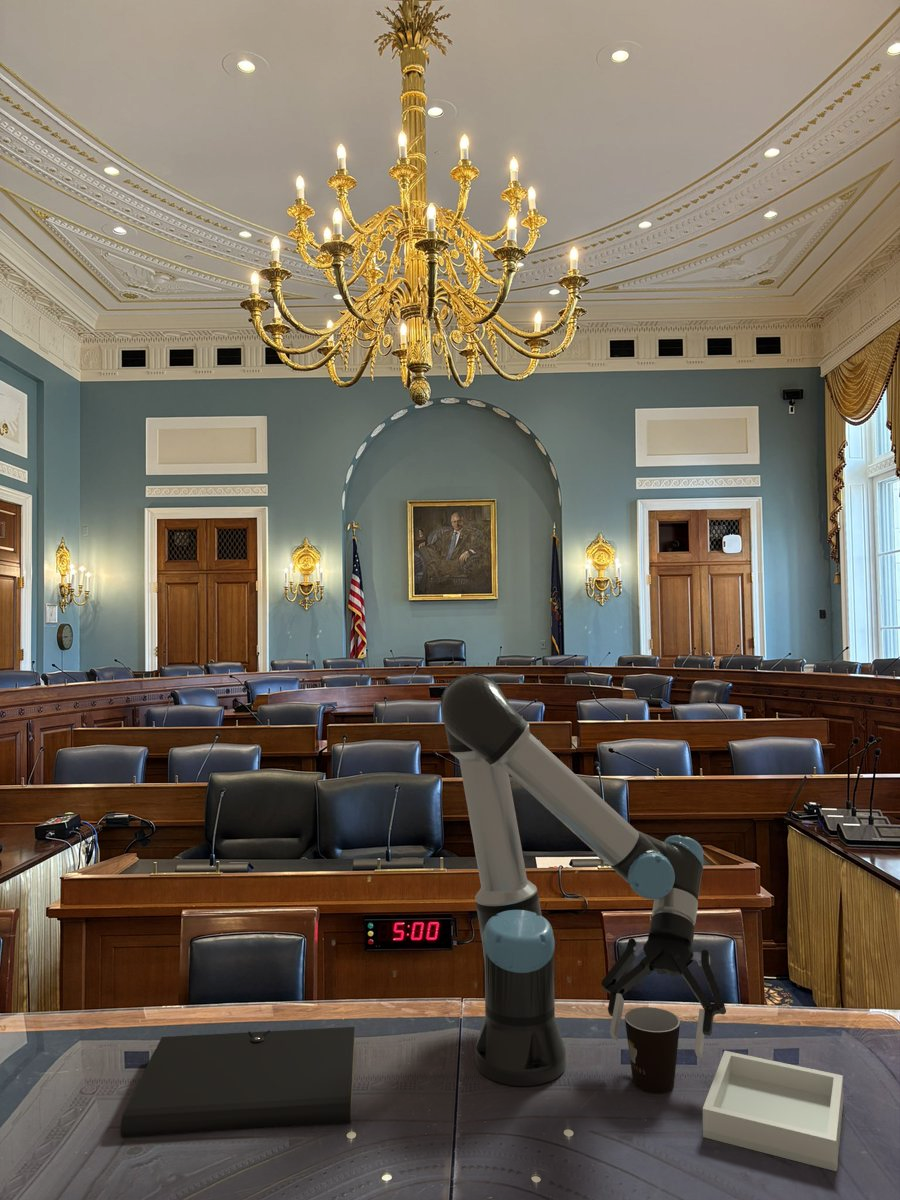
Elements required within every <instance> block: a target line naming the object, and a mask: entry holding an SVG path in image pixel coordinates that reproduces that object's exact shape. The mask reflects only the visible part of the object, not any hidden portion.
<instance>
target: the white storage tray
mask: <svg viewBox="0 0 900 1200" xmlns="http://www.w3.org/2000/svg"><path fill="white" fill-rule="evenodd" d="M843 1110H844V1076H843V1075H842V1074H838V1073H833V1072H829V1071H823V1070H820V1069H813V1068H809V1067H804V1066H800V1065H795V1064H789V1063H786V1062H780V1061H776V1060H770V1059H766V1058H763V1057H757V1056H752V1055H748V1054H742V1053H737V1052H733V1051H729V1050H724V1051H723V1053H722V1057H721V1059H720V1062H719V1065H718V1067H717V1070H716V1072H715V1075H714V1078H713V1080H712V1083H711V1086H710V1087H709V1091H708V1093H707V1096H706V1099H705V1101H704V1104H703V1106H702V1137H703V1138H706V1139H709V1140H713V1141H717V1142H720V1143H725V1144H728V1145H732V1146H736V1147H740V1148H744V1149H748V1150H752V1151H756V1152H760V1153H764V1154H766V1155H767V1154H768V1155H772V1156H775V1157H780V1158H783V1159H787V1160H792V1161H795V1162H799V1163H803V1164H806V1165H810V1166H814V1167H818V1168H822V1169H826V1170H830V1171H833V1172H837V1171H838V1162H839V1151H840V1140H841V1132H842V1131H841V1130H842V1121H843Z"/></svg>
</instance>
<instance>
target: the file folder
mask: <svg viewBox="0 0 900 1200" xmlns="http://www.w3.org/2000/svg"><path fill="white" fill-rule="evenodd" d="M355 1028H356V1027H355V1026H341V1027H325V1028H308V1029H307V1028H306V1029H290V1030H289V1029H288V1030H287V1029H286V1030H270V1029H269V1030H267V1031H248V1032H233V1033H232V1032H231V1033H213V1034H191V1035H173V1036H161V1037H160V1040H159V1041H158V1044H157V1046H156V1048H155V1049H154V1051H153V1053H152V1055H151V1056H150V1059H149V1060H148V1062H147V1065H146V1067H145V1069H144V1071H143V1073H142V1074H141V1077H140V1079H139V1081H138V1082H137V1085H136V1087H135V1089H134V1090H133V1093H132V1095H131V1097H130V1099H129V1101H128V1103H127V1104H126V1107H125V1109H124V1112H123V1113H122V1117H121V1121H120V1137H121V1138H126V1137H127V1138H129V1137H141V1136H143V1137H144V1136H158V1135H171V1134H172V1135H174V1134H175V1135H176V1134H190V1133H205V1132H206V1133H208V1132H222V1131H236V1130H237V1131H239V1130H240V1131H241V1130H254V1129H255V1130H257V1129H272V1128H273V1129H274V1128H287V1127H303V1126H316V1125H317V1126H318V1125H319V1126H320V1125H322V1126H323V1125H335V1124H351V1123H352V1121H351V1119H352V1105H353V1103H352V1102H353V1084H354V1083H353V1081H354V1065H355V1064H354V1063H355V1062H354V1061H355V1045H356V1044H355V1031H356V1029H355Z"/></svg>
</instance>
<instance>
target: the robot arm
mask: <svg viewBox="0 0 900 1200" xmlns="http://www.w3.org/2000/svg"><path fill="white" fill-rule="evenodd" d="M440 708H441V711H440V712H441V718H442V721H443V724H444V728H445V734H446V739H447V745H448V750H449V753H450V754H451V755H452V756H454V757H455V758H456V759H457V760H458V761H459V767H460V771H461V772H460V773H461V777H462V783H463V788H464V789H463V790H464V795H465V800H466V807H467V813H468V819H469V825H470V830H471V835H472V836H471V837H472V840H473V841H472V842H473V847H474V852H475V853H474V854H475V859H476V864H477V870H478V876H479V882H480V889H479V890H478V892H476V895H475V896H474V900H475V906H476V912H477V918H478V925H479V932H480V938H481V941H482V942H481V944H482V952H483V953H482V954H483V960H484V961H483V962H484V1004H485V1005H484V1006H485V1007H484V1008H485V1011H484V1013H485V1014H484V1019H483V1021H482V1025H481V1027H480V1030H479V1035H478V1038H477V1041H476V1044H475V1053H474V1054H475V1057H474V1058H475V1066H476V1068H477V1070H478V1071H479V1073H481V1074H482V1075H483V1076H484V1077H486V1078H487V1079H489V1080H491V1081H494V1082H497V1083H500V1084H504V1085H507V1086H514V1087H515V1086H516V1087H529V1086H530V1087H531V1086H538V1085H543V1084H547V1083H549V1082H552V1081H554V1080H556V1079H557V1078H559V1077H560V1076H561V1075H563V1073H564V1072H565V1070H566V1067H567V1052H566V1045H565V1043H564V1040H563V1036H562V1033H561V1032H560V1028H559V1025H558V1022H557V1019H556V1015H555V960H554V959H555V958H554V957H555V954H554V953H555V947H556V946H555V945H556V941H555V937H554V931H553V927H552V925H551V923H550V922H549V920H548V919H547V918H545V917H544V916H542V915H543V913H542V909H541V904H540V903H541V902H540V898H539V893H538V888H537V886H536V885H535V884H533V882H531V881H530V880H529V879H528V877H527V871H526V865H525V858H524V854H523V849H522V843H521V837H520V832H519V831H520V830H519V827H518V820H517V813H516V809H515V804H514V803H515V802H514V797H513V792H512V786H511V781H510V776H511V778H513V779H514V780H515V781H516V782H517V783H519V784H520V785H521V786H522V787H523V788H524V789H525V790H526V791H528V792H529V794H530V795H532V796H533V797H534V798H535V799H536V801H538V802H539V803H540V804H541V805H543V807H544V808H545V809H547V810H548V811H549V812H550V813H551V814H552V815H554V816H555V817H556V819H558V820H559V821H560V822H561V823H562V824H563V825H565V827H567V828H568V829H569V830H570V831H571V832H572V833H573V834H574V835H576V836H577V838H579V839H580V840H581V841H582V842H583V843H584V844H585V845H587V846H588V847H589V848H590V849H591V851H593V852H594V853H596V856H597V857H598V858H599V859H600V860H602V861H603V862H605V863H607V865H608V866H610V867H611V869H612V870H613V871H615V873H617V874H618V875H619V877H620V878H623V880H624V881H625V882H626V883H628V885H629V887H630V888H631V890H632V891H634V892H635V893H636V894H637V895H638V896H639V897H641V898H643V899H645V900H652V901H653V905H652V906H653V907H652V912H651V914H652V916H651V918H650V923H649V928H648V935H647V936H648V937H647V940H646V942H645V943H642V942H637V941H636V940H635V938H634V937H631V938H629V939H628V941H627V945H626V948H625V950H624V951H623V953H622V954H621V955H620V957H619V958H618V959H617V960H616V962H615V963H614V965H613V966H612V967H611V969H610V970H609V972H608V973H607V974H606V975H605V977H604V978H603V979H602V981H601V983H600V984H601V986H602V988H603V991H604V992H605V993H607V994H609V1001H608V1007H607V1011H608V1015H609V1016H610V1017H611V1022H610V1027H609V1028H610V1029H609V1034H610V1037H611V1039H612V1040H615V1041H618V1040H619V1033H620V1027H621V1022H622V1016H623V1010H624V1006H625V1005H624V1004H625V1000H624V997H623V996H624V995H625V994H627V992H629V991H630V990H631V989H632V988H633V987H634V986H636V985H637V984H638V983H639V982H640V981H642V979H644V978H645V977H646V976H649V975H651V974H652V973H653V972H656V974H659V975H668V976H671V977H677V976H679V975H681V976H682V978H683V980H684V981H685V982H686V984H687V985H688V987H689V989H690V990H691V992H692V993H693V995H694V996H695V997H696V1000H697V1001H698V1003H700V1006H701V1007H702V1008H698V1010H699V1011H698V1018H697V1025H696V1035H695V1043H694V1052H695V1053H694V1054H695V1055H696V1057H697V1058H700V1059H703V1053H704V1045H705V1043H704V1042H705V1036H709V1037H710V1036H711V1034H712V1033H713V1025H714V1024H713V1023H714V1016H716V1015H719V1014H720V1015H725V1014H726V1013H727V1009H726V1006H725V1005H726V1004H725V1003H724V1000H723V998H722V994H721V992H720V990H719V987H718V984H717V981H716V979H715V976H714V974H713V971H712V969H711V968H712V967H711V962H712V960H711V957H710V956H711V955H710V953H709V950H707V949H702V950H701V952H699V951H693V946H694V939H695V938H694V937H695V929H696V927H695V925H696V921H697V914H698V908H699V907H698V905H699V895H700V888H701V883H702V874H703V872H704V849H703V847H702V846H701V844H700V843H699V842H698V841H697V840H695V839H694V838H691V837H688V836H682V835H680V834H678V835H677V834H676V835H671V836H668V837H666V839H664V841H662V840H659V839H657V838H655V837H653V836H651V835H648V834H647V833H644V832H642V831H639V830H637V829H636V828H634V826H633V825H631V824H630V823H629V822H628V821H627V820H625V818H624V817H623V816H621V814H619V813H618V812H617V811H616V810H615V809H614V808H612V806H611V805H609V804H608V803H607V802H606V801H605V800H604V799H603V798H602V797H600V795H598V794H597V792H595V791H594V790H593V789H592V788H591V787H590V786H589V785H587V783H586V782H584V781H583V780H582V778H580V777H579V776H578V775H576V773H574V772H573V771H572V770H571V769H570V768H569V767H568V766H567V765H566V764H564V763H563V761H561V760H560V759H559V758H558V757H557V755H555V754H553V752H552V751H550V749H548V748H547V747H546V746H545V745H544V744H543V743H542V742H541V741H539V740H538V738H537V737H535V736H534V735H533V734H532V733H531V731H530V723H529V722H527V720H525V719H524V718H523V717H522V716H521V714H519V713H518V712H517V710H515V708H514V707H513V705H511V703H509V700H508V699H507V697H505V695H504V693H503V691H502V690H501V688H500V686H499V685H498V683H497V682H496V681H495V680H493V679H492V678H490V677H489V676H488V675H485V674H481V673H477V672H475V673H466V674H462V675H460V676H457V677H456V678H454V679H453V680H451V682H450V683H448V684H447V686H446V687H445V689H444V690H443V693H442V696H441V702H440ZM642 952H644V954H645V957H643V958H642V959H641V960H640V961H639V963H638V964H637V965H636V966H634V967H633V968H632V969H631V970H630V971H628V972H627V970H628V969H629V968H630V966H631V965H632V964H633V962H634V961H635V959H636V957H638V956H639V955H640V954H641V953H642ZM694 961H696V962H697V966H699V967H701V968H702V971H703V973H704V976H705V979H706V981H707V984H708V986H709V989H710V993H711V995H712V998H713V1000H714V1002H711V1001H710V1000H709V999H708V997H707V995H706V994H705V992H704V990H703V989H702V988H701V986H700V985H699V983H698V981H697V980H696V979H695V977H694V976H693V974H692V973H691V971H690V969H689V966H690V965H691V964H693V962H694ZM626 972H627V973H626ZM625 973H626V974H625Z"/></svg>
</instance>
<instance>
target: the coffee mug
mask: <svg viewBox="0 0 900 1200" xmlns="http://www.w3.org/2000/svg"><path fill="white" fill-rule="evenodd" d="M624 1023H625V1030H626V1031H625V1032H626V1038H627V1045H628V1046H627V1047H628V1054H629V1062H630V1069H631V1075H632V1077H631V1078H632V1083H633V1085H634V1086H635V1087H636V1088H637V1089H638V1090H640V1091H642V1092H644V1093H647V1094H648V1093H649V1094H655V1095H657V1094H658V1095H661V1094H665V1093H670V1092H671V1091H672V1090H673V1089H674V1087H675V1079H676V1078H675V1077H676V1066H677V1058H678V1046H679V1039H680V1038H679V1035H680V1028H681V1027H680V1026H681V1019H680V1018H679V1017H678V1016H677V1015H676V1014H674V1013H673V1012H671V1011H669V1010H666V1009H662V1008H659V1007H652V1006H651V1007H649V1006H648V1007H647V1006H645V1007H644V1006H643V1007H637V1008H632V1009H630V1010H628V1011H627V1012H626V1013H625V1015H624Z"/></svg>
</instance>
